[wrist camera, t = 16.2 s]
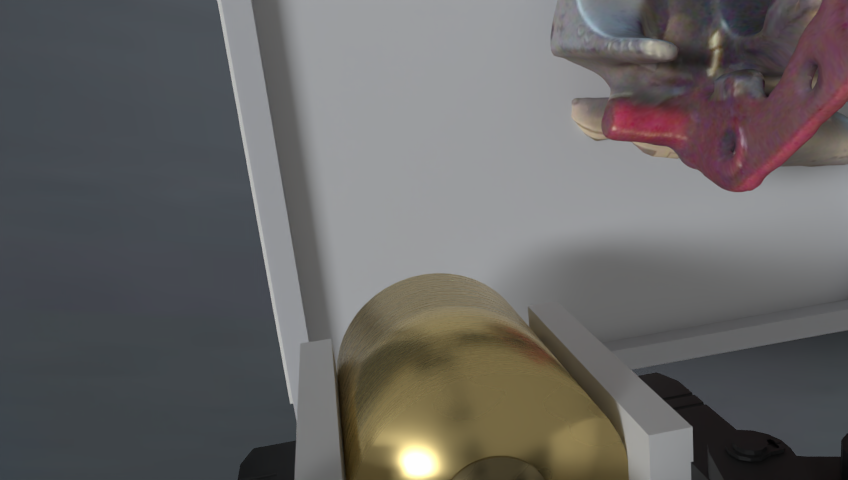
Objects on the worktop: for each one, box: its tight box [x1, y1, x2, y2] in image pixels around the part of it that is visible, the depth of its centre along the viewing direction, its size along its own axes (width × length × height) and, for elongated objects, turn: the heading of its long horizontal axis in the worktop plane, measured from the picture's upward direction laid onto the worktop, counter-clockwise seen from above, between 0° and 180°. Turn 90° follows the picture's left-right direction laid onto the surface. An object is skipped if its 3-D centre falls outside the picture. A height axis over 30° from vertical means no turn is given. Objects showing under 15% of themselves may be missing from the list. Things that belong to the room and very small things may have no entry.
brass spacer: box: [337, 273, 629, 480], centre depth 15 cm, size 5×5×6 cm
